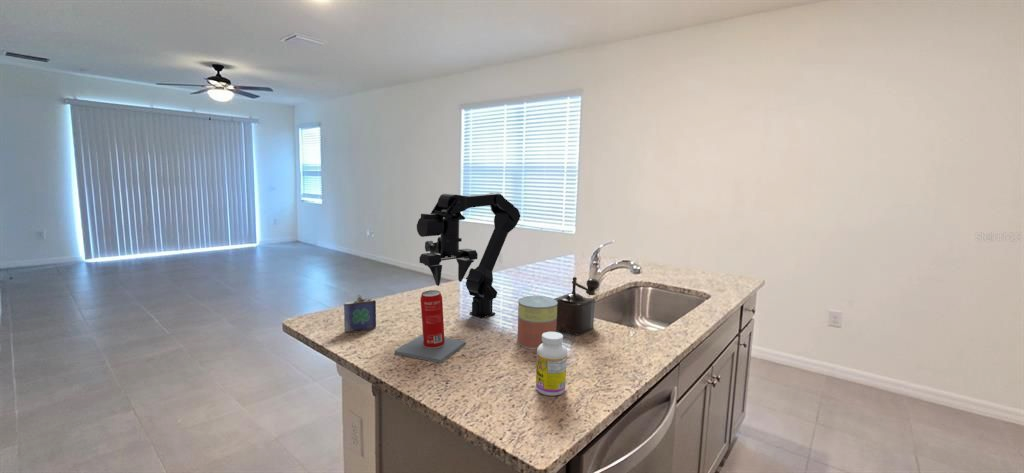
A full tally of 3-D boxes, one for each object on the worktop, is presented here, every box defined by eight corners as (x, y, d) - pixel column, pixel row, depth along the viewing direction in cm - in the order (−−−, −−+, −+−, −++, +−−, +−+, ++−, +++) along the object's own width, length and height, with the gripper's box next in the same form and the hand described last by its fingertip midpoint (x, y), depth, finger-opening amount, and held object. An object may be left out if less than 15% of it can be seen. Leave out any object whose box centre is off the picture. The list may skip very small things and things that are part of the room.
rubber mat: (423, 336, 131) (423, 333, 131) (466, 343, 126) (466, 341, 126) (394, 353, 118) (394, 350, 118) (440, 362, 113) (440, 359, 113)
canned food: (564, 341, 129) (565, 301, 128) (539, 352, 121) (540, 309, 119) (534, 331, 137) (535, 293, 135) (509, 341, 129) (510, 300, 127)
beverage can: (448, 344, 123) (449, 291, 121) (433, 351, 118) (433, 296, 116) (432, 339, 126) (432, 287, 124) (416, 346, 121) (416, 293, 119)
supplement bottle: (533, 383, 103) (535, 329, 102) (562, 382, 104) (564, 329, 102) (537, 397, 97) (539, 340, 95) (568, 396, 97) (570, 340, 96)
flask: (345, 333, 131) (344, 298, 130) (343, 330, 134) (342, 295, 132) (377, 329, 136) (376, 294, 135) (374, 326, 138) (374, 292, 137)
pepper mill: (547, 329, 140) (550, 272, 137) (566, 320, 148) (568, 267, 146) (592, 341, 130) (595, 281, 128) (609, 331, 139) (612, 274, 136)
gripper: (457, 229, 151) (457, 275, 153) (409, 233, 138) (409, 282, 140) (479, 233, 143) (478, 281, 145) (430, 237, 130) (429, 290, 132)
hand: (449, 283), depth 141 cm, fingers open, 8 cm apart
